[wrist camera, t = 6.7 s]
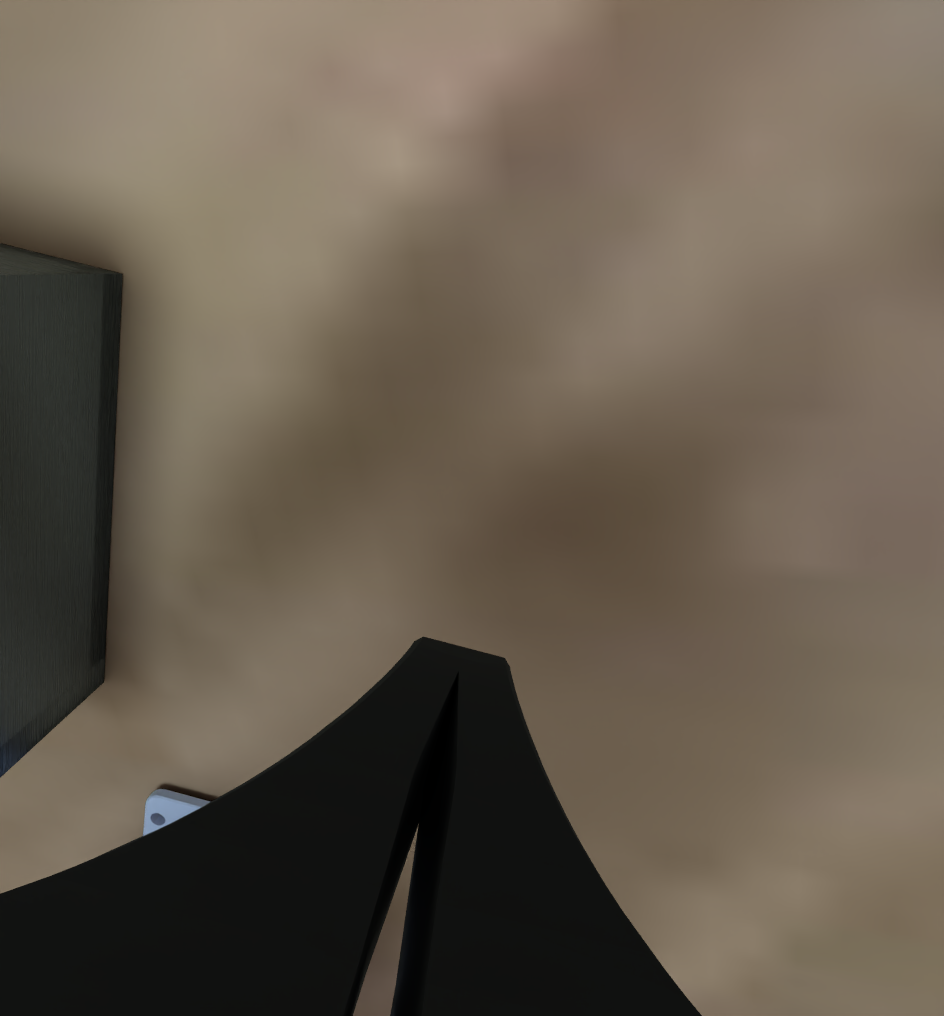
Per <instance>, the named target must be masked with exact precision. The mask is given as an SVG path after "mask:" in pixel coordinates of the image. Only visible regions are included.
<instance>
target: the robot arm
mask: <svg viewBox="0 0 944 1016" xmlns="http://www.w3.org/2000/svg"><path fill="white" fill-rule="evenodd" d="M160 814H161V815H160ZM418 824H419V826H418ZM417 827H418V833H417V840H416V847H415V854H414V861H413V868H412V875H411V882H410V889H409V896H408V903H407V910H406V917H405V924H404V931H403V938H402V945H401V952H400V959H399V966H398V973H397V981H396V987H395V993H394V998H393V1004H392V1009H391V1015H390V1016H702V1015H701V1014H700V1013H699V1012H698V1011H697V1009H696V1008H695V1007H694V1006H693V1005H692V1003H691V1002H690V1001H689V1000H688V999H687V997H686V996H685V995H684V994H683V992H682V991H681V990H680V988H679V987H678V986H677V985H676V983H675V982H674V981H673V979H672V978H671V977H670V976H669V974H668V973H667V972H666V970H665V969H664V968H663V966H662V965H661V963H660V962H659V961H658V959H657V958H656V957H655V955H654V954H653V952H652V951H651V950H650V948H649V947H648V946H647V944H646V943H645V941H644V940H643V939H642V937H641V936H640V934H639V933H638V932H637V930H636V929H635V928H634V926H633V925H632V923H631V922H630V921H629V919H628V918H627V916H626V915H625V914H624V912H623V911H622V910H621V908H620V906H619V905H618V903H617V902H616V900H615V899H614V897H613V896H612V894H611V892H610V891H609V889H608V888H607V886H606V885H605V883H604V882H603V880H602V878H601V877H600V875H599V873H598V872H597V870H596V868H595V867H594V865H593V863H592V861H591V860H590V858H589V856H588V855H587V853H586V851H585V850H584V848H583V846H582V844H581V842H580V841H579V839H578V837H577V835H576V833H575V832H574V830H573V828H572V826H571V824H570V822H569V820H568V818H567V816H566V814H565V812H564V810H563V808H562V806H561V804H560V802H559V800H558V798H557V796H556V794H555V792H554V790H553V787H552V785H551V783H550V781H549V779H548V776H547V774H546V772H545V770H544V767H543V765H542V763H541V760H540V758H539V755H538V753H537V750H536V748H535V745H534V743H533V740H532V738H531V735H530V733H529V730H528V727H527V725H526V722H525V719H524V716H523V713H522V710H521V707H520V704H519V701H518V698H517V694H516V691H515V687H514V683H513V679H512V675H511V671H510V666H509V665H508V663H507V661H506V659H505V658H503V657H499V656H495V655H492V654H488V653H484V652H480V651H476V650H472V649H469V648H465V647H461V646H457V645H453V644H450V643H446V642H442V641H438V640H434V639H431V638H427V637H422V638H420V639H418V640H416V641H414V643H413V644H412V645H411V647H410V648H409V649H408V651H407V652H406V653H405V654H404V655H403V657H402V658H401V659H400V660H399V661H398V662H397V663H396V664H395V665H394V667H393V668H392V669H391V670H390V671H389V672H388V673H387V674H386V675H385V676H384V677H383V678H382V679H381V680H380V681H379V682H378V683H376V684H375V685H374V686H373V687H372V688H371V689H370V690H369V691H368V692H367V693H365V694H364V695H363V696H362V697H361V698H360V699H359V700H358V701H357V702H356V703H355V704H353V705H352V706H351V707H350V708H349V709H348V710H346V711H345V712H344V713H343V714H341V715H340V716H339V717H338V718H336V719H335V720H334V721H333V722H331V723H330V724H329V725H327V726H326V727H325V728H324V729H322V730H321V731H320V732H319V733H317V734H316V735H315V736H313V737H312V738H311V739H310V740H308V741H307V742H306V743H304V744H303V745H301V746H300V747H299V748H297V749H296V750H294V751H293V752H291V753H290V754H289V755H287V756H286V757H284V758H283V759H281V760H280V761H278V762H277V763H275V764H274V765H272V766H271V767H269V768H267V769H266V770H264V771H263V772H261V773H260V774H258V775H256V776H255V777H253V778H252V779H250V780H248V781H247V782H245V783H243V784H242V785H240V786H238V787H236V788H235V789H233V790H231V791H229V792H228V793H226V794H224V795H222V796H220V797H219V798H217V799H215V800H213V801H212V802H210V801H206V800H203V799H199V798H195V797H192V796H188V795H184V794H181V793H177V792H173V791H170V790H166V789H157V790H155V791H153V792H152V793H151V795H150V796H149V797H148V799H147V801H146V804H145V817H144V830H143V836H142V837H140V838H138V839H135V840H133V841H131V842H129V843H127V844H124V845H122V846H120V847H118V848H116V849H113V850H111V851H109V852H107V853H105V854H102V855H100V856H98V857H96V858H94V859H91V860H89V861H87V862H84V863H82V864H79V865H77V866H75V867H72V868H70V869H67V870H65V871H62V872H59V873H57V874H54V875H52V876H49V877H46V878H44V879H41V880H38V881H35V882H32V883H30V884H27V885H24V886H21V887H18V888H15V889H13V890H10V891H7V892H4V893H1V894H0V1016H353V1013H354V1010H355V1006H356V1003H357V1000H358V997H359V994H360V990H361V987H362V984H363V981H364V978H365V974H366V972H367V969H368V966H369V963H370V960H371V957H372V955H373V952H374V949H375V946H376V943H377V940H378V938H379V935H380V932H381V929H382V926H383V923H384V921H385V918H386V915H387V912H388V909H389V906H390V904H391V901H392V898H393V895H394V892H395V889H396V887H397V884H398V881H399V878H400V875H401V872H402V870H403V867H404V864H405V861H406V858H407V855H408V852H409V850H410V847H411V844H412V841H413V838H414V835H415V832H416V830H417Z"/></svg>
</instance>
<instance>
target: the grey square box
mask: <svg viewBox="0 0 944 1016" xmlns="http://www.w3.org/2000/svg"><path fill="white" fill-rule="evenodd" d="M122 275H123V274H121V273H117V272H113V271H109V270H105V269H101V268H97V267H93V266H89V265H85V264H81V263H77V262H73V261H69V260H65V259H61V258H57V257H53V256H49V255H45V254H41V253H37V252H33V251H29V250H25V249H21V248H17V247H13V246H9V245H5V244H1V243H0V777H1V776H2V775H4V774H5V773H6V772H7V771H8V770H9V769H10V768H11V767H12V766H13V765H14V764H16V763H17V762H18V761H19V760H20V759H21V758H22V757H23V756H24V755H25V754H26V753H27V752H29V751H30V750H31V749H32V748H33V747H34V746H35V745H36V744H37V743H38V742H39V741H40V740H42V739H43V738H44V737H45V736H46V735H47V734H48V733H49V732H50V731H51V730H52V729H54V728H55V727H56V726H57V725H58V724H59V723H60V722H61V721H62V720H63V719H64V718H65V717H67V716H68V715H69V714H70V713H71V712H72V711H73V710H74V709H75V708H76V707H77V706H78V705H80V704H81V703H82V702H83V701H84V700H85V699H86V698H87V697H88V696H89V695H90V694H91V693H93V692H94V691H95V690H96V689H97V688H98V687H99V686H100V685H101V684H102V683H103V682H104V668H105V646H106V624H107V602H108V580H109V559H110V537H111V515H112V493H113V471H114V449H115V428H116V406H117V384H118V362H119V340H120V318H121V297H122Z"/></svg>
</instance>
